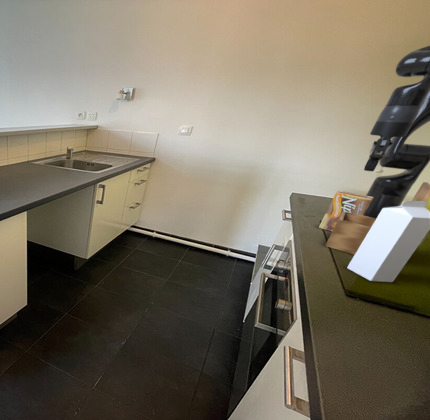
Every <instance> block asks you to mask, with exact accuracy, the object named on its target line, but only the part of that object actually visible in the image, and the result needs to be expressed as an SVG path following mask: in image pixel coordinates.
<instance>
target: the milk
mask: <svg viewBox="0 0 430 420" xmlns="http://www.w3.org/2000/svg"><path fill="white" fill-rule="evenodd" d="M428 205H429V201H427V202H424V201H412V200H403V202H402V203H401V205H400V206H397V207H388V208H383V209H382V210H381V212H380V214H379V215H378V217H377V219H376V220H375V222H374V224H373V225H372V227H371V229H370V230H369V232H368V234H367V235H366V237H365V239H364V240H363V242H362V244H361V245H360V247H359V249H358V250H357V252H356V254H355V255H354V254H353V257H352V258H351V260H350V261H349V263H348V266H347V267H346V268H347V270H350V271H352V272H353V273H355V274H357V275H358V276H360V277H362V278H365V279H366V280H368V281H370V282H381V283H382V282H383V283H393V282H394V281H395V280H396V278H397V277H398V275H399V274H400V273H401V272H402V270H403V268H404V267H405V266H406V264H407V263H408V261H409V260H410V259H411V257H412V256H413V254H414V253H415V252H416V250H417V248H418V247H419V245H420V244H421V243H422V241H423V240H424V238H426V235H427V234H428V233H429V231H430V210H429V209H428V208H427V206H428Z"/></svg>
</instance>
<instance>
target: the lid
mask: <svg viewBox="0 0 430 420" xmlns="http://www.w3.org/2000/svg"><path fill="white" fill-rule="evenodd" d="M429 199H430V183H429V182H426V181H423V182H422V184H421V185H420V187H419V188H418V190H417V192H416V193H415V194H414V196H413V198H412V199H411V201H424V202H429V201H428V200H429Z"/></svg>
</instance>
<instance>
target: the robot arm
mask: <svg viewBox="0 0 430 420" xmlns="http://www.w3.org/2000/svg"><path fill="white" fill-rule="evenodd" d="M394 72H395V75H396V76H397V77H400V78H417V77H419V78H420V77H421V80H420V81H418V82H415V83H412V84H405V85H401V86H397V87H396V88H394V89H393V91H392V93H391V94H390V96H389V98H388V100H387V102H386V104H385V105H384V108H382V110H381V112H380V113H379V115H378V116H377V119H376V121H375V123H374V125H373V127H372V129H371V130H370V133H369V134H370V136H378V137H379V138H377V140H374V141H373V143H372V145H371V149H370V151H369V157H368V159H367V162H366V164H365V165H364V168H363V170H364V171H365V172H374V171H375V170H376V168H377V166H378V164H379V166H380V167H382V168H388V169H396V170H403V171H402V172H399V173H395V174H389V175H379V176H376V177H375V179H374V180H373V181H372V184H370V187H369V189H368V191H367V193H366V194H365V196H370V197H374V198H373V200H372V201H371V203H370V205H369V207H368V208H367V210H366V212H365V214H364V215H363V216H368V217H372V218H377V217H378V215H379V214H380V212H381V210H382V209H383V208H388V207H397V206H401V205H402V203H403V202H404V201H405V199H406V197H407V195H408V193H409V192H410V190H411V189H412V186H413V185H414V184H415V183H416V182H417V180H418V179H419V178H420V176H421V174H422V173H423V171H424V170H425V169H426V167H427V166H428V165H429V163H430V145H427V144H415V143H411V144H410V143H405V142H406V141H407V140H408V139H409V137H410V136H411V135H412V134H413V133H414V132H416V131H417V130H418V129H420V128H421V127H423V126H424V125H426V124H427V123H429V122H430V45H427V46H424V47H421V48H418V49H415V50H413V51H411V52H408V53H407V54H406V55H404V56H403V57H402V58H401V59H400V60H399V61H398V62H397V64H396V66H395V68H394Z"/></svg>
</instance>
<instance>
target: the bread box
mask: <svg viewBox="0 0 430 420" xmlns="http://www.w3.org/2000/svg"><path fill="white" fill-rule="evenodd" d="M376 219H377V218H372V217H368V216H363V215H359V214H354V213H350V212H345V211H343V212H342V213H341V215H340V217H339V219H338V221H337V223H336V225H335V226H334V228H333V230H332V231H330V233H329V236H328V238H327V241H326V243H325V247H328V248H331V249H333V250H337V251H341V252H344V253H348V254H351V255H353V256H354V255H355V254H356V252H357V250H358V249H359V247H360V245H361V244H362V242H363V240H364V239H365V237H366V235H367V234H368V232H369V230H370V229H371V227H372V225H373V224H374V222H375V220H376Z"/></svg>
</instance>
